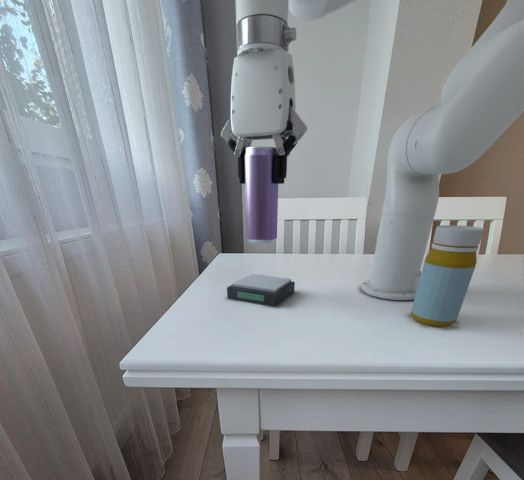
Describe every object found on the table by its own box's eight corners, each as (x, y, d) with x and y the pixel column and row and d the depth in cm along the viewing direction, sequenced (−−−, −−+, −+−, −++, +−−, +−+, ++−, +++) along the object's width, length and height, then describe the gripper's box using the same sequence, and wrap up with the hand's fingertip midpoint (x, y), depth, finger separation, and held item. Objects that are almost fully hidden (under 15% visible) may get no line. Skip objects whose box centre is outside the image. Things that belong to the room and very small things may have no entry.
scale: (294, 292, 64) (295, 279, 63) (275, 307, 56) (275, 292, 55) (250, 286, 69) (249, 273, 67) (226, 298, 61) (226, 284, 59)
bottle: (461, 330, 47) (497, 231, 40) (415, 326, 49) (442, 229, 41) (446, 314, 53) (475, 225, 46) (406, 311, 55) (428, 224, 47)
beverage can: (274, 244, 54) (276, 146, 47) (243, 243, 55) (240, 146, 48) (278, 239, 59) (281, 150, 52) (249, 238, 60) (248, 150, 53)
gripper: (325, 44, 44) (314, 183, 52) (226, 63, 50) (231, 184, 59) (309, 21, 38) (300, 183, 46) (199, 46, 44) (209, 183, 53)
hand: (261, 182), depth 52 cm, fingers closed on beverage can, 6 cm apart
